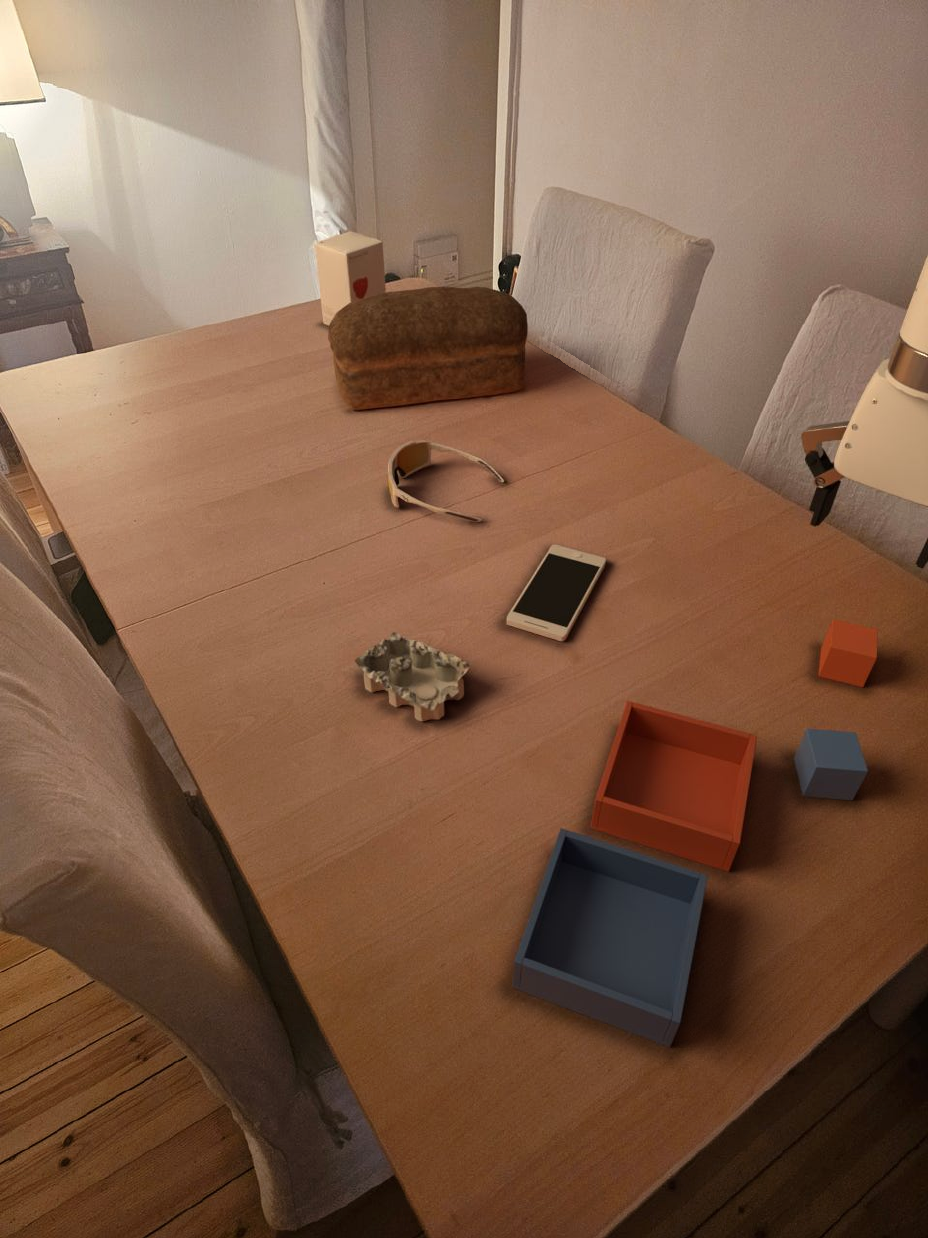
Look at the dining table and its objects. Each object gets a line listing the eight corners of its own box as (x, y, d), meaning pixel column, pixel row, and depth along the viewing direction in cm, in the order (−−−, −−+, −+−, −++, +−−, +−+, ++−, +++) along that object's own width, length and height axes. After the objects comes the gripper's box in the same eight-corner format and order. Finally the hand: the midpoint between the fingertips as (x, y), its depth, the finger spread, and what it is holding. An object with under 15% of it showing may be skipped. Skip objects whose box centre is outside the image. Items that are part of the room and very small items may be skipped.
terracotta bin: (746, 765, 79) (757, 735, 76) (728, 872, 70) (740, 843, 67) (621, 730, 82) (627, 700, 79) (590, 828, 74) (595, 799, 71)
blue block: (841, 762, 79) (856, 732, 76) (852, 801, 76) (868, 771, 73) (793, 758, 79) (806, 728, 76) (802, 796, 76) (816, 767, 73)
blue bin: (697, 903, 68) (708, 874, 65) (669, 1048, 60) (680, 1023, 57) (556, 856, 72) (560, 827, 69) (512, 988, 63) (514, 961, 60)
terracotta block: (864, 659, 89) (878, 629, 86) (863, 687, 86) (877, 657, 83) (820, 648, 90) (832, 618, 87) (818, 676, 87) (830, 646, 84)
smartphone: (606, 563, 102) (607, 557, 101) (563, 642, 91) (564, 636, 91) (552, 548, 104) (552, 542, 103) (504, 624, 94) (504, 618, 93)
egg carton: (474, 691, 86) (475, 664, 84) (426, 733, 82) (425, 706, 79) (401, 645, 91) (399, 618, 89) (352, 683, 87) (348, 655, 84)
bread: (331, 375, 140) (319, 281, 129) (511, 356, 145) (514, 263, 134) (340, 416, 130) (328, 317, 119) (534, 394, 134) (539, 297, 124)
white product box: (353, 337, 151) (345, 253, 141) (322, 324, 156) (312, 241, 146) (389, 322, 156) (384, 240, 146) (358, 310, 161) (350, 229, 150)
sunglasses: (409, 455, 120) (412, 426, 117) (506, 486, 118) (512, 457, 115) (369, 508, 111) (371, 478, 107) (474, 543, 108) (479, 513, 105)
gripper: (1077, 379, 62) (981, 556, 74) (851, 319, 70) (797, 488, 82) (1053, 417, 58) (956, 599, 70) (815, 349, 66) (764, 522, 78)
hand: (870, 539), depth 76 cm, fingers open, 9 cm apart
